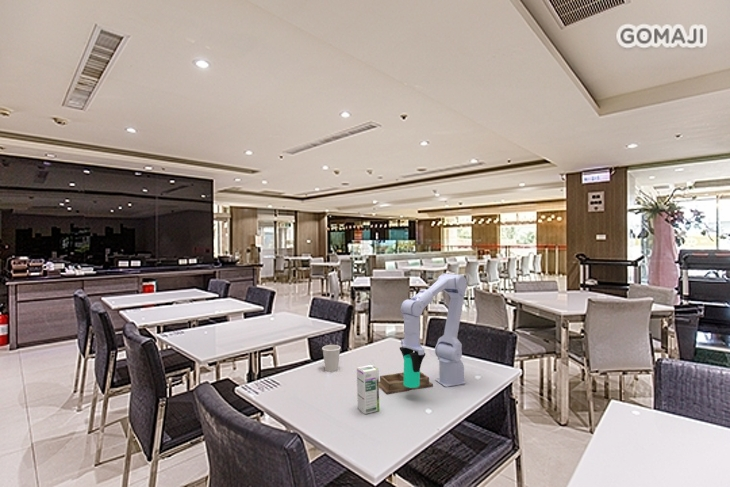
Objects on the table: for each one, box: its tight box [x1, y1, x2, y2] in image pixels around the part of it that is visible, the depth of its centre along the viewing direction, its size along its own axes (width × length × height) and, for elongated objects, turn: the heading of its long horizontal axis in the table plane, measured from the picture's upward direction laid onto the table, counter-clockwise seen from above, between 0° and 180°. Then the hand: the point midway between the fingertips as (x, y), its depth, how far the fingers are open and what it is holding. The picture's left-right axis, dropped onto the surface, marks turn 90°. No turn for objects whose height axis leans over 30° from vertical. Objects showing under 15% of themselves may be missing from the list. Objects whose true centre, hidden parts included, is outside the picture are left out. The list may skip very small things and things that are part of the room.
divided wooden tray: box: [379, 371, 434, 395], centre depth 148 cm, size 20×10×4 cm, turn 111°
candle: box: [403, 354, 421, 388], centre depth 137 cm, size 6×6×12 cm
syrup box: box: [356, 364, 380, 415], centre depth 127 cm, size 6×6×14 cm
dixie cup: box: [321, 344, 341, 373], centre depth 167 cm, size 8×8×10 cm
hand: (412, 368), depth 137 cm, fingers closed on candle, 6 cm apart
